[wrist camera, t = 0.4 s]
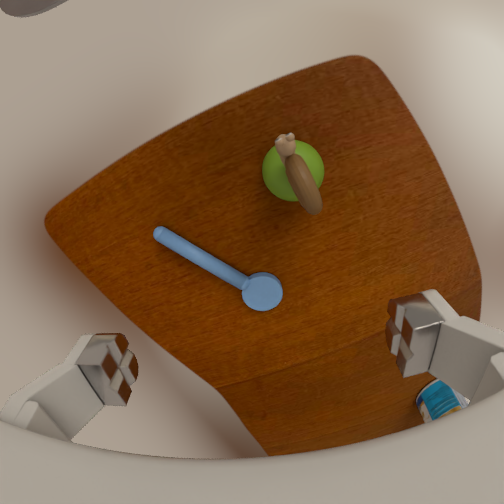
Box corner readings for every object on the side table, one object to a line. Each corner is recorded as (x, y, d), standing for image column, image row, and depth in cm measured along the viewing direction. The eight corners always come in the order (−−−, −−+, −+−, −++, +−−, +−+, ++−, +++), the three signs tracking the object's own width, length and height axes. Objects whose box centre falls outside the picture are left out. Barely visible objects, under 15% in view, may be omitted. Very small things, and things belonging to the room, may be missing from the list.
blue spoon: (148, 243, 31) (143, 249, 30) (165, 210, 30) (161, 214, 28) (267, 312, 35) (267, 320, 33) (289, 284, 33) (291, 291, 32)
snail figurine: (296, 120, 26) (325, 115, 15) (326, 179, 28) (369, 212, 17) (246, 146, 27) (239, 157, 16) (277, 203, 30) (291, 251, 19)
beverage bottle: (461, 373, 41) (508, 455, 22) (437, 404, 44) (473, 484, 25) (430, 374, 40) (477, 468, 22) (406, 407, 43) (440, 497, 25)
